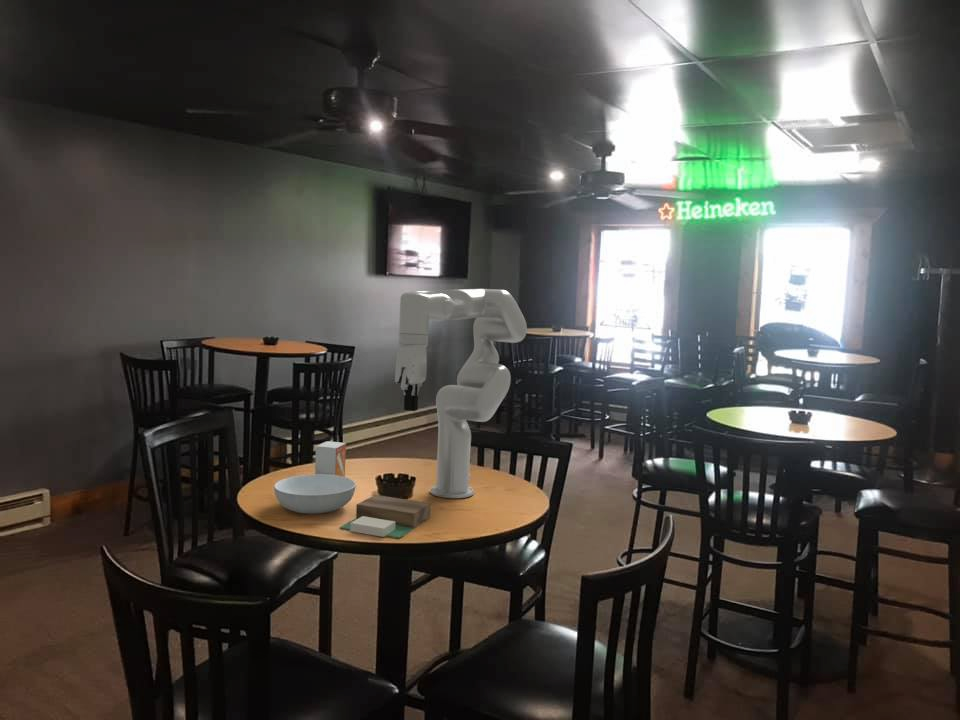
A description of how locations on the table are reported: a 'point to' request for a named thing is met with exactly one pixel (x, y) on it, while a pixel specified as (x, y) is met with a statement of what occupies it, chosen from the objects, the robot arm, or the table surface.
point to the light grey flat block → (372, 526)
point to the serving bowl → (314, 493)
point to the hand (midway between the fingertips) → (410, 410)
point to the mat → (396, 533)
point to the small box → (330, 458)
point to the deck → (394, 510)
